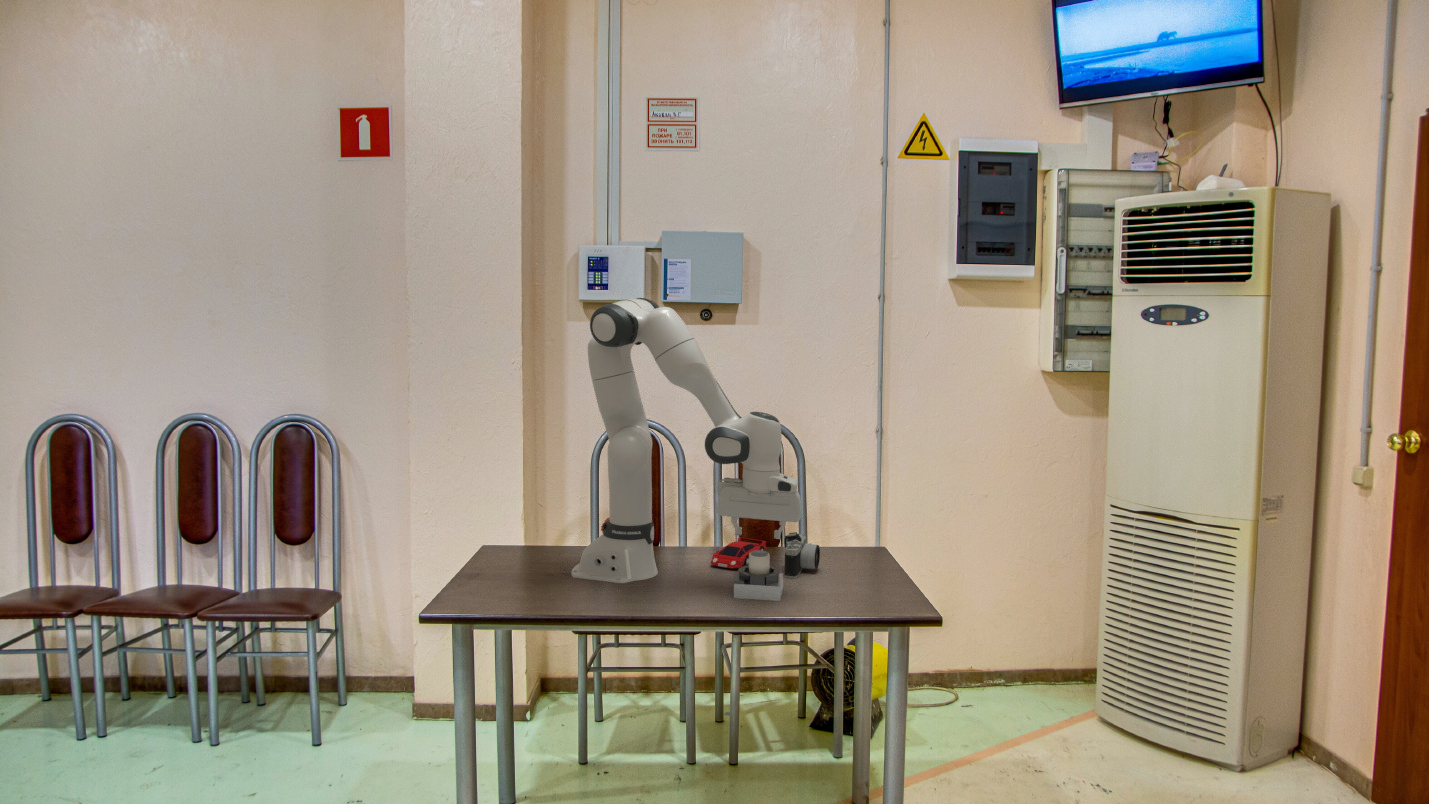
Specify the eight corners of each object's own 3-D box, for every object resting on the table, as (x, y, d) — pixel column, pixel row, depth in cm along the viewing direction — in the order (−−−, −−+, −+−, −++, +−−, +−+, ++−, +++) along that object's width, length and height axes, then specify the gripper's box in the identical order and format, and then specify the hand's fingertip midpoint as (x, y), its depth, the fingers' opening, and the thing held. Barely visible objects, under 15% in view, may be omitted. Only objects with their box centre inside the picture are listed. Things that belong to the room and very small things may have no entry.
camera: (812, 581, 200) (813, 543, 199) (778, 577, 203) (778, 540, 202) (822, 563, 215) (823, 528, 214) (789, 560, 218) (790, 525, 217)
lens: (747, 581, 188) (747, 555, 187) (749, 574, 193) (750, 549, 192) (768, 582, 187) (768, 556, 186) (770, 575, 192) (770, 550, 191)
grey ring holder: (733, 600, 186) (734, 575, 185) (739, 586, 196) (739, 562, 195) (780, 603, 184) (780, 578, 184) (783, 589, 194) (783, 565, 194)
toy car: (706, 568, 211) (707, 550, 210) (734, 549, 229) (735, 532, 229) (743, 573, 207) (743, 555, 206) (768, 553, 225) (769, 536, 225)
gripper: (716, 479, 186) (713, 536, 187) (802, 486, 183) (798, 543, 184) (719, 474, 192) (717, 529, 194) (803, 480, 189) (800, 536, 191)
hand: (757, 536), depth 189 cm, fingers open, 8 cm apart
